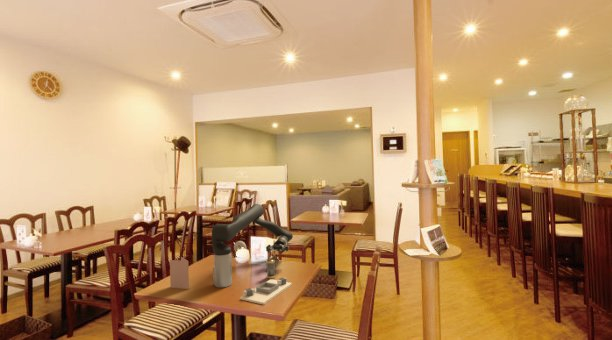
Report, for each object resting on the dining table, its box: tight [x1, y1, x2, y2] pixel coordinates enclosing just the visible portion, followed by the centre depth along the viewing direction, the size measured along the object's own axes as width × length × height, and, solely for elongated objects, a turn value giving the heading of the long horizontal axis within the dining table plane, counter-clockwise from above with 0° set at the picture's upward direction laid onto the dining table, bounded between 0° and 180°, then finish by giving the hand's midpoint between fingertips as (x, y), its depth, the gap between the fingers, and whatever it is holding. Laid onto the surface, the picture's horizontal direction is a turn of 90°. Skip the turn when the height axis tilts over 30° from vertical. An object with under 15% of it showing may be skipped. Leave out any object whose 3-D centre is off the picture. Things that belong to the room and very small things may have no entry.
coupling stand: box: [239, 277, 293, 306], centre depth 154 cm, size 14×26×4 cm, turn 152°
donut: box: [233, 240, 247, 253], centre depth 224 cm, size 10×4×10 cm, turn 71°
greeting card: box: [169, 256, 190, 290], centre depth 163 cm, size 11×7×15 cm, turn 41°
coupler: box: [266, 258, 276, 280], centre depth 175 cm, size 5×5×10 cm
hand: (275, 251), depth 186 cm, fingers open, 8 cm apart
